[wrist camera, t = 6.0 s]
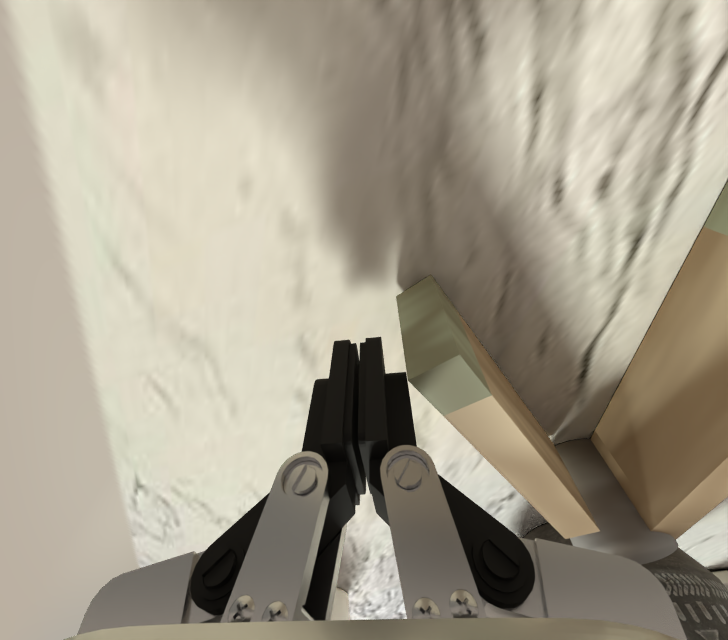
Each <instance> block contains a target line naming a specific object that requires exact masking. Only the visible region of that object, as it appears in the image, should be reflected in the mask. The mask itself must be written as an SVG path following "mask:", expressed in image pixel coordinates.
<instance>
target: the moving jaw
mask: <svg viewBox="0 0 728 640" xmlns="http://www.w3.org/2000/svg"><path fill="white" fill-rule="evenodd" d="M396 299H397V306H398V313H399V320H400V327H401V334H402V341H403V348H404V355H405V362H406V369H407V377H408V381H409V382H410V383H411V384H412V385H413V386H414V387H415V388H416V389H417V390H418V391H419V392H420V393H421V394H422V395H423V396H424V397H425V398H426V399H427V400H428V401H429V402H430V403H431V404H432V405H433V406H434V407H435V408H436V409H437V410H438V411H439V412H440V413H441V414H442V415H443V416H444V417H445V418H446V419H447V420H448V421H449V422H450V423H451V424H452V425H453V426H454V427H455V428H456V429H457V430H458V431H459V432H460V433H461V434H462V435H463V436H464V437H465V438H466V439H467V440H468V441H469V442H470V443H471V444H472V445H473V446H474V447H475V448H476V449H477V450H478V451H479V452H480V453H481V454H482V455H483V457H484V458H485V459H486V460H487V461H488V462H489V463H490V464H491V465H492V466H493V467H494V468H495V469H496V470H497V471H498V472H499V473H500V474H501V475H502V476H503V477H504V478H505V479H506V480H507V481H508V482H509V483H510V484H511V485H512V486H513V487H514V488H515V489H516V490H517V491H518V492H519V493H520V494H521V495H522V496H523V497H524V498H525V499H526V500H527V501H528V502H529V503H530V504H531V505H532V506H533V507H534V508H535V509H536V510H537V511H538V512H539V513H540V514H541V515H542V516H543V517H544V518H545V519H546V520H547V521H548V522H549V523H550V524H551V525H552V526H553V527H554V528H555V529H556V530H557V531H558V532H559V533H560V534H561V535H562V536H563V537H564V538H565V539H568V538H573V537H577V536H581V535H586V534H590V533H595V532H599V531H600V530H599V528H598V526H597V524H596V522H595V520H594V518H593V516H592V515H591V513H590V511H589V509H588V507H587V505H586V503H585V502H584V500H583V498H582V496H581V494H580V492H579V490H578V489H577V487H576V485H575V483H574V481H573V479H572V477H571V476H570V474H569V472H568V470H567V468H566V466H565V464H564V462H563V461H562V459H561V457H560V455H559V453H558V451H557V449H556V448H555V446H554V444H553V442H552V441H551V440H550V438H549V437H548V436H547V434H546V433H545V431H544V430H543V429H542V427H541V426H540V425H539V423H538V422H537V420H536V419H535V418H534V416H533V415H532V413H531V412H530V411H529V409H528V408H527V407H526V405H525V404H524V402H523V401H522V400H521V398H520V397H519V395H518V394H517V393H516V391H515V390H514V389H513V387H512V386H511V384H510V383H509V382H508V380H507V379H506V378H505V376H504V375H503V373H502V372H501V371H500V369H499V368H498V366H497V365H496V364H495V362H494V361H493V360H492V358H491V357H490V355H489V354H488V353H487V351H486V350H485V349H484V347H483V346H482V344H481V343H480V342H479V340H478V339H477V337H476V336H475V335H474V333H473V332H472V331H471V329H470V328H469V326H468V325H467V324H466V322H465V321H464V320H463V318H462V317H461V315H460V314H459V313H458V311H457V310H456V308H455V307H454V306H453V304H452V303H451V302H450V300H449V299H448V297H447V296H446V295H445V293H444V292H443V291H442V289H441V288H440V286H439V285H438V284H437V282H436V281H435V279H434V278H433V277H432V275H430V276H428V277H426V278H425V279H423V280H422V281H420V282H418V283H417V284H415V285H414V286H412V287H411V288H409V289H407V290H406V291H404V292H403V293H401V294H399V295H398V296H396Z"/></svg>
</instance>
